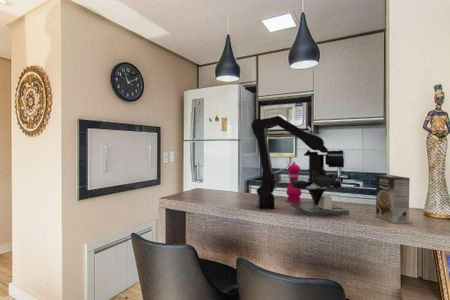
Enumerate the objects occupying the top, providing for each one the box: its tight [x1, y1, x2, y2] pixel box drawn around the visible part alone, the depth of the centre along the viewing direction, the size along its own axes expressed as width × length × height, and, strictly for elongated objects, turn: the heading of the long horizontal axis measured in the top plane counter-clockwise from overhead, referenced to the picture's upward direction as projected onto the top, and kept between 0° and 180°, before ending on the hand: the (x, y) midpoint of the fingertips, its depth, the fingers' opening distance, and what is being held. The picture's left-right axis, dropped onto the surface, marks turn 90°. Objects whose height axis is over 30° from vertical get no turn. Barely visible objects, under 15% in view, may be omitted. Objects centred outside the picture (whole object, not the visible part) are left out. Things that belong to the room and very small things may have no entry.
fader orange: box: [318, 194, 333, 210], centre depth 103 cm, size 3×5×5 cm, turn 7°
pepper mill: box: [286, 160, 302, 203], centre depth 126 cm, size 7×7×20 cm
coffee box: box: [375, 174, 411, 224], centre depth 93 cm, size 9×6×16 cm
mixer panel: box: [289, 200, 350, 217], centre depth 109 cm, size 17×20×2 cm
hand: (316, 205), depth 103 cm, fingers closed
